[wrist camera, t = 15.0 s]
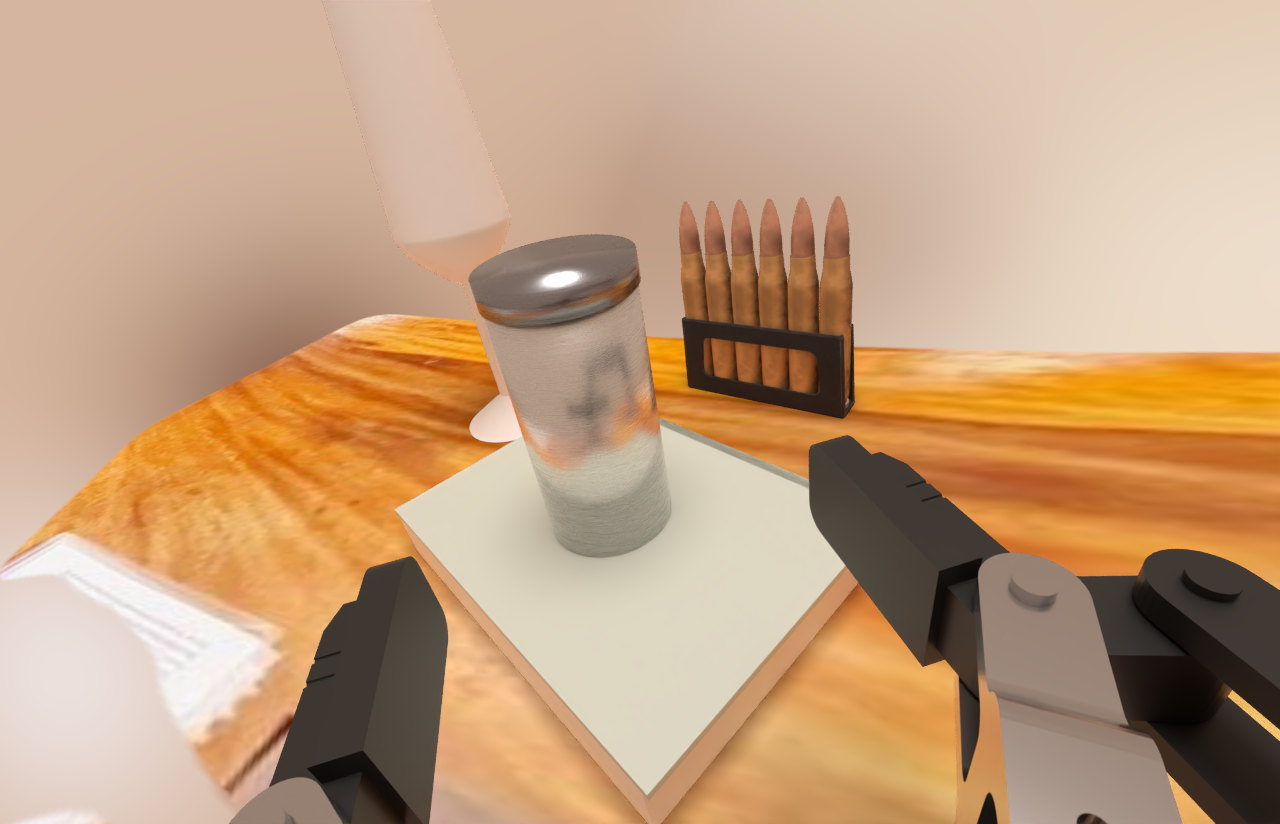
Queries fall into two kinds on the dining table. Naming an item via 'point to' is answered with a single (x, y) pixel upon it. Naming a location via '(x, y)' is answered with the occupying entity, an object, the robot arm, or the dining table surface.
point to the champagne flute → (425, 155)
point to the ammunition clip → (769, 311)
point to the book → (642, 603)
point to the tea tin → (581, 386)
